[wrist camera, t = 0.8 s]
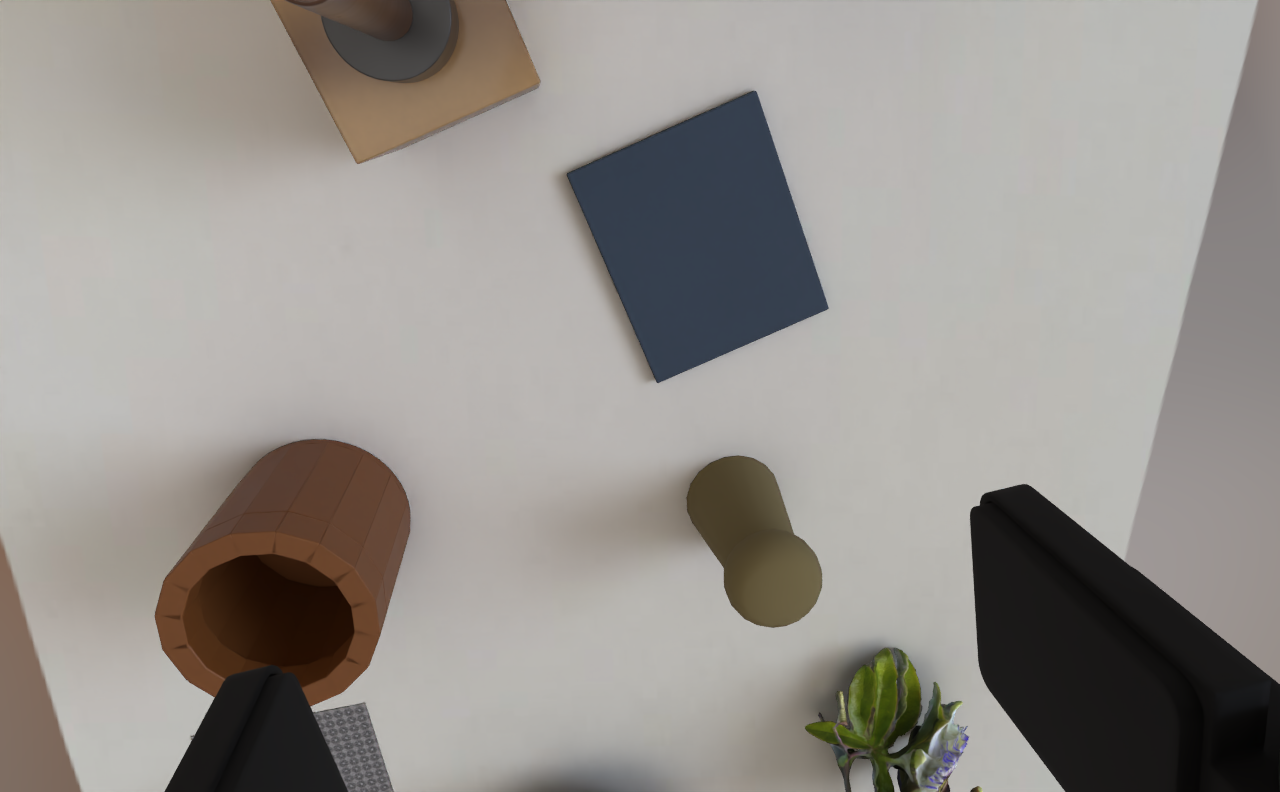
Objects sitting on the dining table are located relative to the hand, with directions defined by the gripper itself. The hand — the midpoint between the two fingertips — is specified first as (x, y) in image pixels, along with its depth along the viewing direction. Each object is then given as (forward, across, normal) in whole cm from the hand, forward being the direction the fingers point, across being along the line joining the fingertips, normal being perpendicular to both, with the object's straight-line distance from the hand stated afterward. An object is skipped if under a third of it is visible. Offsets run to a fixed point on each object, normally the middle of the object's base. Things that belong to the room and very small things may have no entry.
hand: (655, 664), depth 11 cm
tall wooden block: (+37, +4, -11) cm, 38 cm away
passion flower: (+36, -13, +39) cm, 55 cm away
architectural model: (+36, +26, +34) cm, 56 cm away
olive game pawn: (+37, -6, +19) cm, 42 cm away
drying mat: (+37, -7, +2) cm, 37 cm away
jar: (+36, +18, +13) cm, 43 cm away
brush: (+26, +4, -11) cm, 28 cm away
